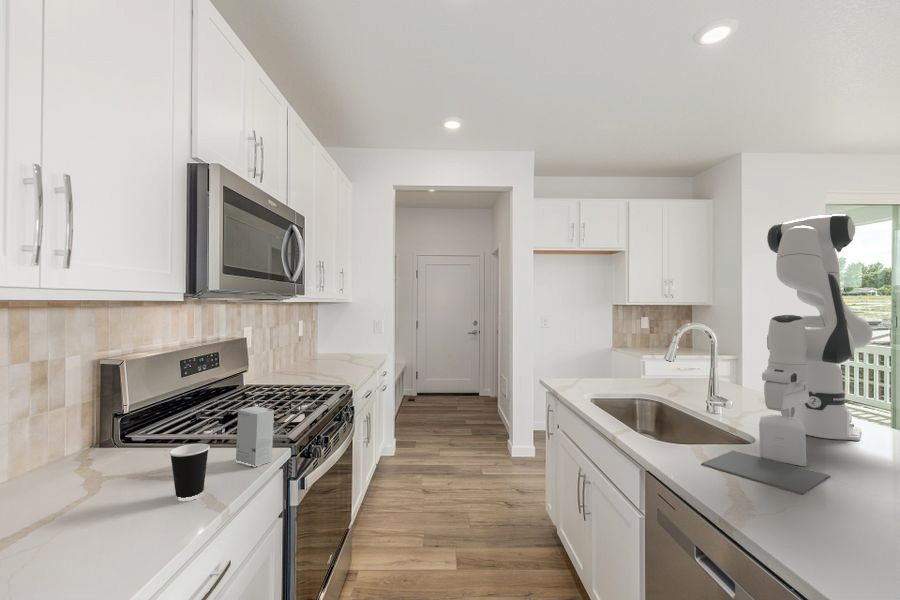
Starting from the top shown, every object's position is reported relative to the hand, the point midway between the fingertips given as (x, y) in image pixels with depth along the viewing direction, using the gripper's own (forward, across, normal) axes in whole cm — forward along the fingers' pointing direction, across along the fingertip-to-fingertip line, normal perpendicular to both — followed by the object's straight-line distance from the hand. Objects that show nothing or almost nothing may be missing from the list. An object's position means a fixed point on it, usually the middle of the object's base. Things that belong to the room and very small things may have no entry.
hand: (788, 422), depth 120 cm
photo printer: (+10, +5, 0) cm, 11 cm away
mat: (+10, +17, 0) cm, 19 cm away
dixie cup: (+11, +142, -66) cm, 157 cm away
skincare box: (+11, +126, -81) cm, 150 cm away
